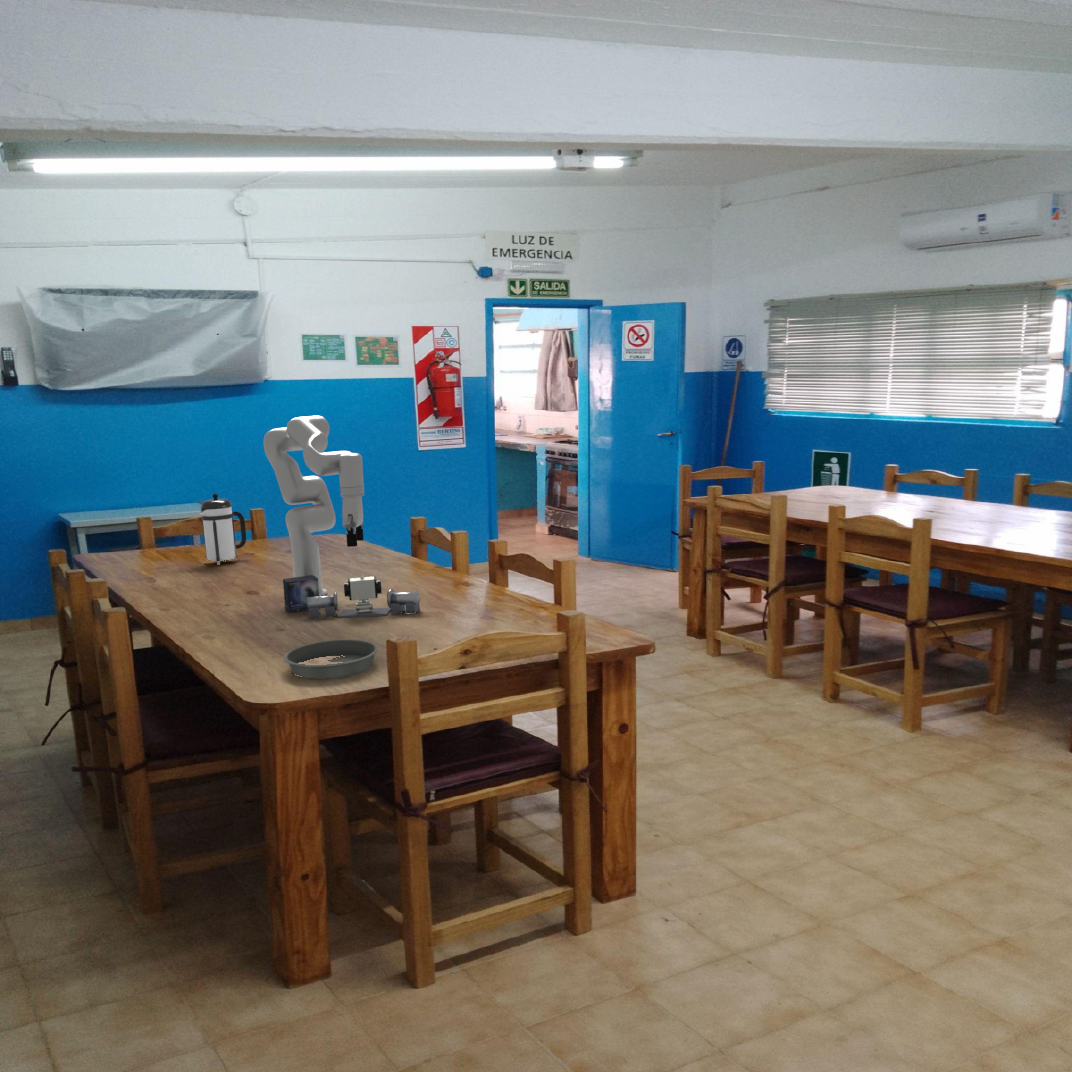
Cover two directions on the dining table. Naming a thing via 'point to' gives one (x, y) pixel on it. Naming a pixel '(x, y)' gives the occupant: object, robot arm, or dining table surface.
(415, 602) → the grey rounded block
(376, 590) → the pneumatic valve
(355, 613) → the pad
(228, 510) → the coffee press
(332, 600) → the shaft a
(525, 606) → the dining table surface
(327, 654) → the cake pan
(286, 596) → the small box
